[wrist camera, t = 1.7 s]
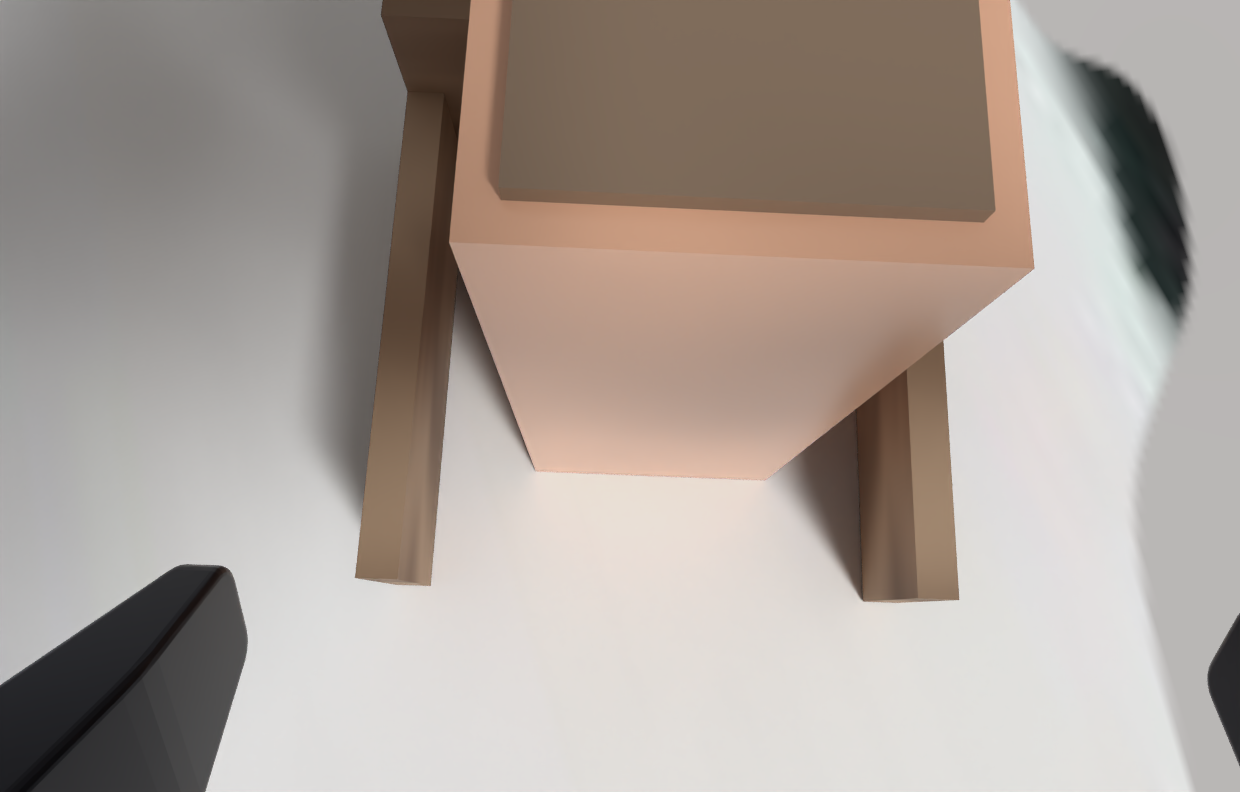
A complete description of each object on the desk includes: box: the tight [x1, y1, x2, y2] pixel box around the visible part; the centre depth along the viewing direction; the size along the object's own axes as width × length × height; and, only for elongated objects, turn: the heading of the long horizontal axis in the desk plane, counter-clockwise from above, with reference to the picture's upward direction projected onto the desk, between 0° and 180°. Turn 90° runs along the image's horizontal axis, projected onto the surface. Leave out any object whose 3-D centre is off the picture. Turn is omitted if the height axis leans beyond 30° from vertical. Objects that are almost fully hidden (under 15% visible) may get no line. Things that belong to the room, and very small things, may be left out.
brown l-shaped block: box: [355, 0, 959, 603], centre depth 18 cm, size 11×12×6 cm
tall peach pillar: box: [449, 0, 1034, 480], centre depth 15 cm, size 6×6×13 cm
